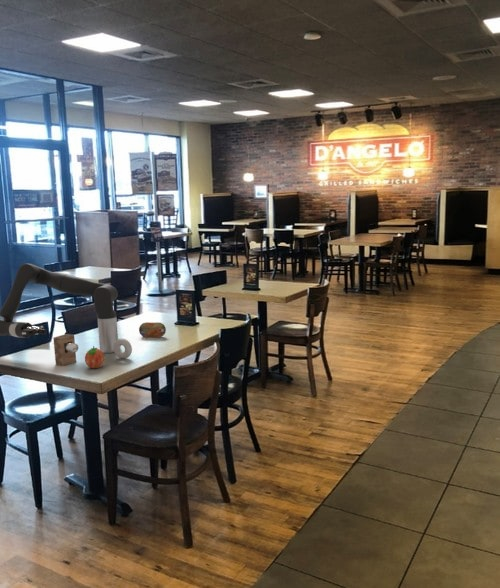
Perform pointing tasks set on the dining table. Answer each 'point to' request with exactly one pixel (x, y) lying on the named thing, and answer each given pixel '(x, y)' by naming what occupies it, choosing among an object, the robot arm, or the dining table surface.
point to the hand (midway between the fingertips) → (45, 331)
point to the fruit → (94, 358)
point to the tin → (152, 329)
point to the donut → (126, 345)
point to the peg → (71, 347)
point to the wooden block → (60, 353)
